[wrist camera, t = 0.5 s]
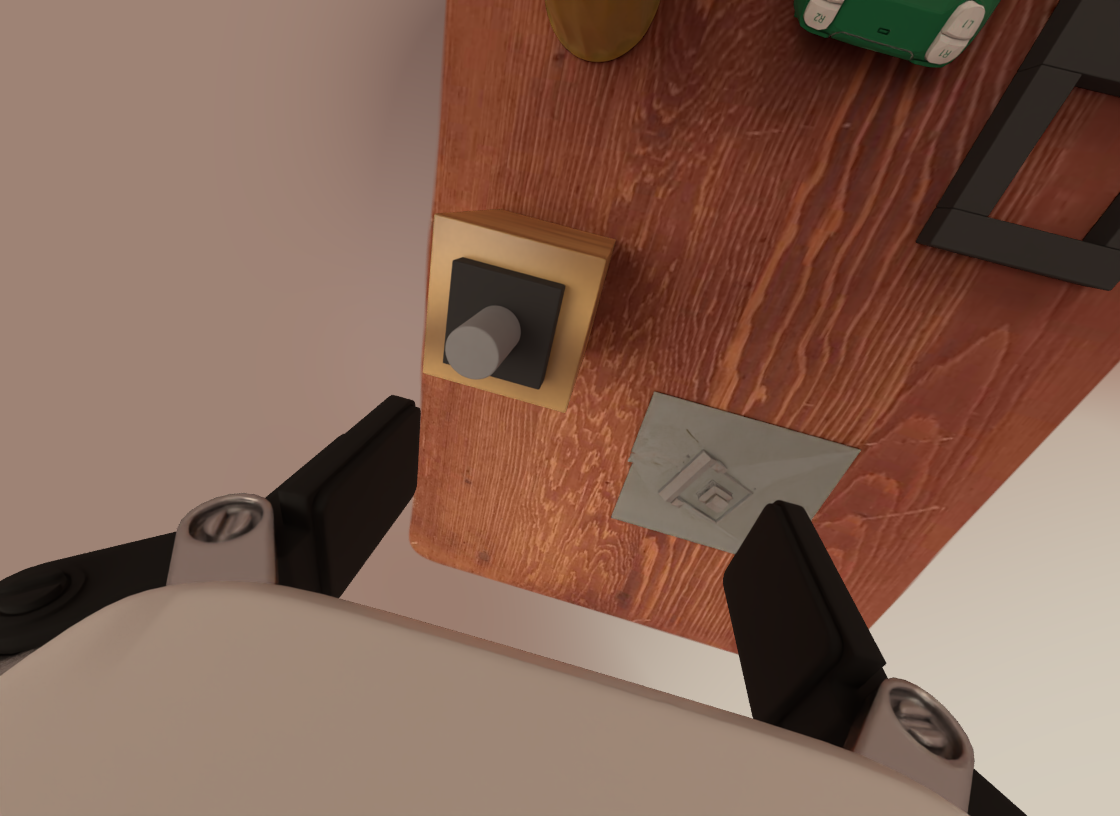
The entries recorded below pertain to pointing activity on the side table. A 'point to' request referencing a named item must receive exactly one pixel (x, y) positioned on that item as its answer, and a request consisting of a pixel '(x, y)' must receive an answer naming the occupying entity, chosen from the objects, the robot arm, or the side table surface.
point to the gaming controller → (899, 25)
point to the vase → (600, 25)
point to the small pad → (519, 298)
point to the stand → (529, 252)
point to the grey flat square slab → (721, 472)
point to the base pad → (1010, 135)
